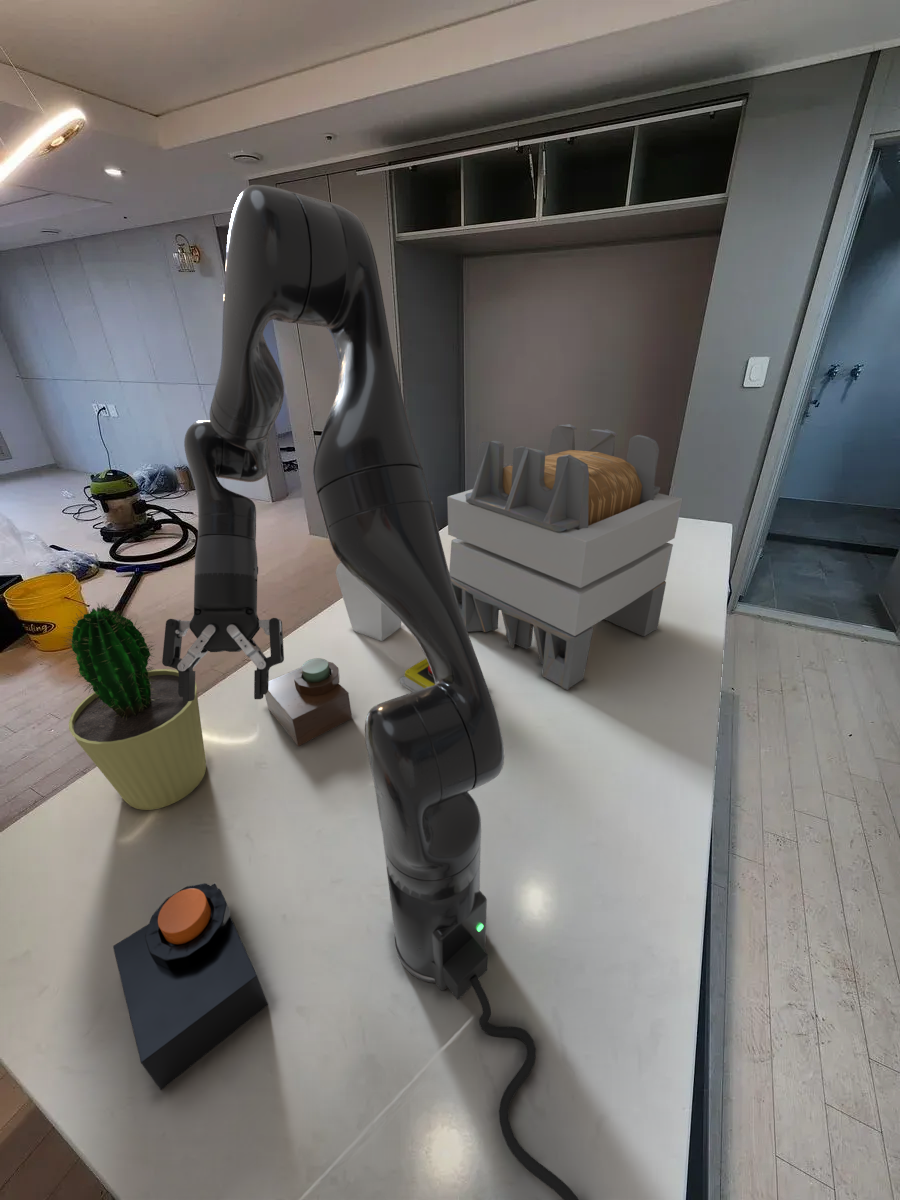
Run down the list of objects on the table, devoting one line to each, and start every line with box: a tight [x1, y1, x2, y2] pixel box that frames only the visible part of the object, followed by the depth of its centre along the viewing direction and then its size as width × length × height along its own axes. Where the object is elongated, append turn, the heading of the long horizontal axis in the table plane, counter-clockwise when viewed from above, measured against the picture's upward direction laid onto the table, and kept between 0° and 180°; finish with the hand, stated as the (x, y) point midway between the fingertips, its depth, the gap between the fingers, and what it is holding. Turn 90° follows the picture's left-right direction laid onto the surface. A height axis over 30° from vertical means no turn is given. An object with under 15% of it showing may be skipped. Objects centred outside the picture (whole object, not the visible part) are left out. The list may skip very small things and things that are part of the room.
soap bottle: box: [335, 561, 402, 642], centre depth 107 cm, size 12×10×26 cm
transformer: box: [446, 423, 683, 691], centre depth 103 cm, size 34×33×41 cm
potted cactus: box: [60, 602, 207, 811], centre depth 69 cm, size 15×15×30 cm
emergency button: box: [399, 657, 435, 693], centre depth 93 cm, size 9×4×15 cm
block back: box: [264, 661, 353, 747], centre depth 87 cm, size 12×11×8 cm
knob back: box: [301, 657, 330, 683], centre depth 86 cm, size 4×4×2 cm
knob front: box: [158, 888, 211, 945], centre depth 51 cm, size 4×4×2 cm
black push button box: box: [112, 882, 269, 1091], centre depth 50 cm, size 12×10×8 cm
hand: (224, 699), depth 65 cm, fingers open, 8 cm apart
